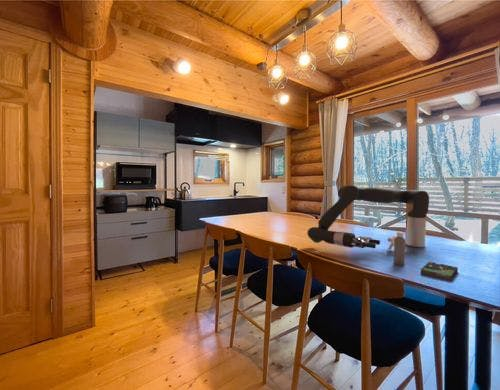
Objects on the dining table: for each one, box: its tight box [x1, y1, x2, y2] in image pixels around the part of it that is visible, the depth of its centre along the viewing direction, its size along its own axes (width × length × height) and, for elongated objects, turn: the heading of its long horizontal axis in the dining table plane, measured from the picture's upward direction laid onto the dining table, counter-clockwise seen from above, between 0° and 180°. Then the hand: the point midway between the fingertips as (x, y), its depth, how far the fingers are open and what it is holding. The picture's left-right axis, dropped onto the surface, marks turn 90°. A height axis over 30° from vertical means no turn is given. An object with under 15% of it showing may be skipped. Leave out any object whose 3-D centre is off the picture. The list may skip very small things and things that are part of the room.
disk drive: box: [420, 261, 459, 282], centre depth 106 cm, size 10×3×15 cm
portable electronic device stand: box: [386, 235, 408, 254], centre depth 135 cm, size 9×8×8 cm
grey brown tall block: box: [393, 231, 406, 267], centre depth 116 cm, size 4×4×15 cm
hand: (377, 244), depth 122 cm, fingers open, 8 cm apart
